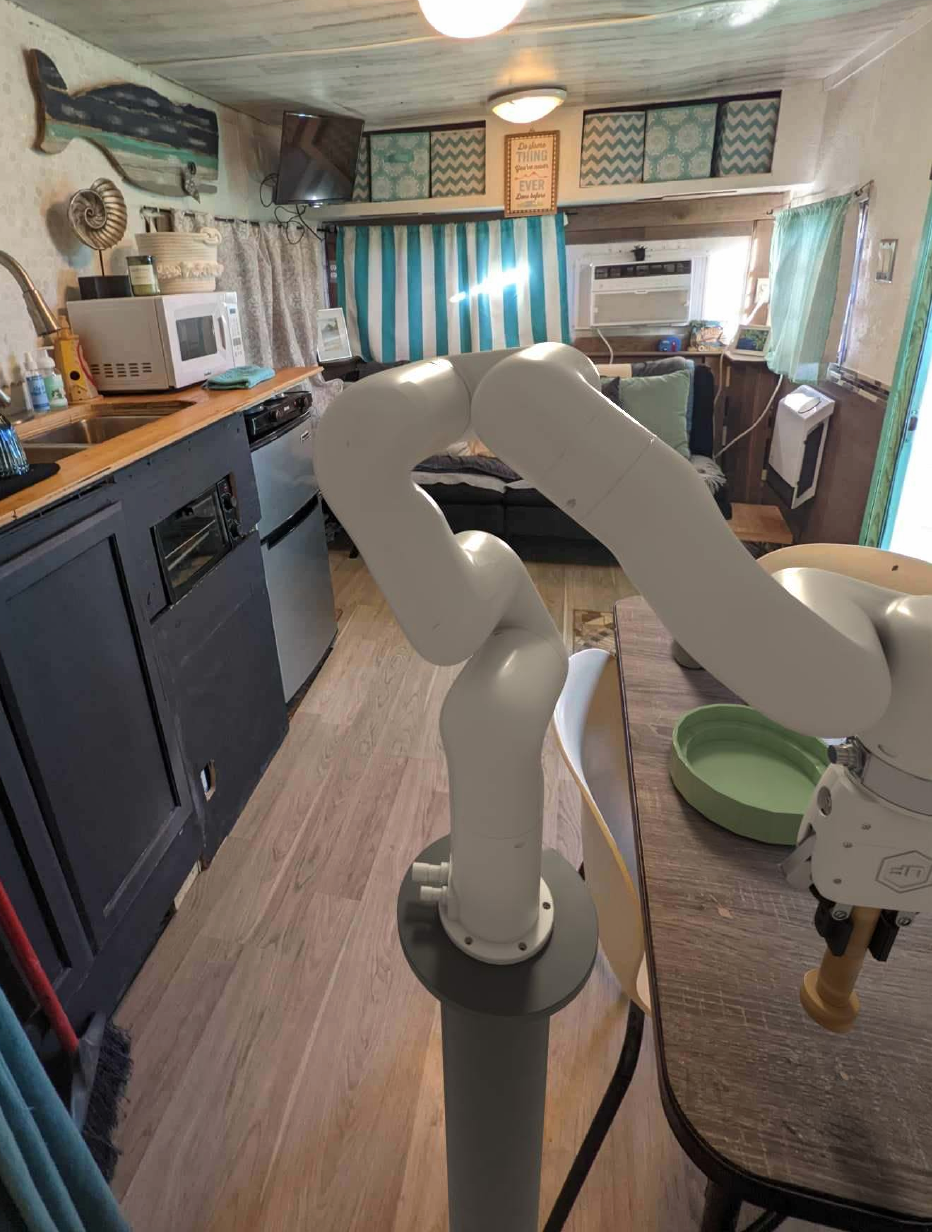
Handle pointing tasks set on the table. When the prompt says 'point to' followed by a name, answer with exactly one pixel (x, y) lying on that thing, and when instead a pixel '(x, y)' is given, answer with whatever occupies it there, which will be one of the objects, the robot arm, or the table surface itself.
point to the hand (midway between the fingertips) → (849, 940)
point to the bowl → (746, 770)
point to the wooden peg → (839, 977)
